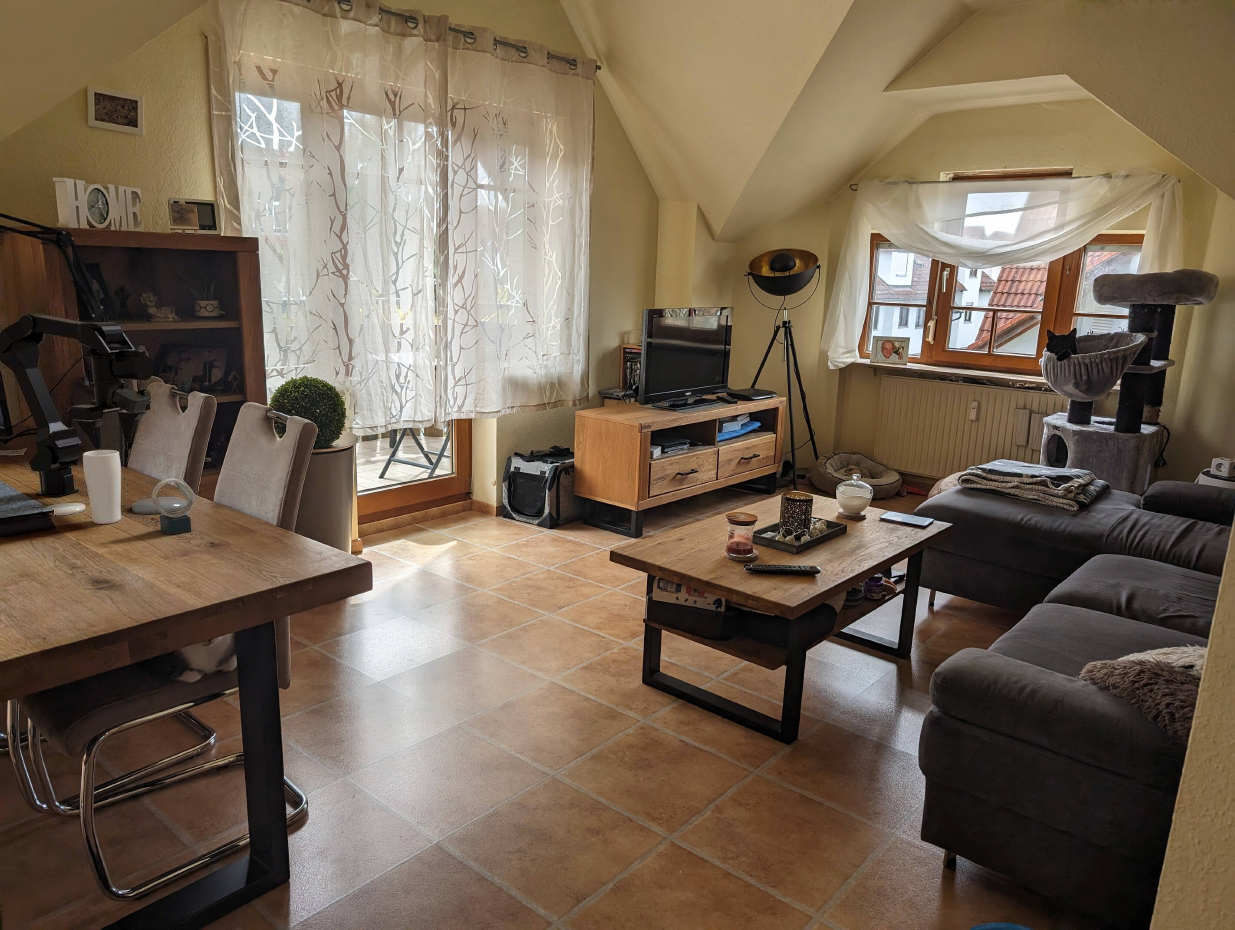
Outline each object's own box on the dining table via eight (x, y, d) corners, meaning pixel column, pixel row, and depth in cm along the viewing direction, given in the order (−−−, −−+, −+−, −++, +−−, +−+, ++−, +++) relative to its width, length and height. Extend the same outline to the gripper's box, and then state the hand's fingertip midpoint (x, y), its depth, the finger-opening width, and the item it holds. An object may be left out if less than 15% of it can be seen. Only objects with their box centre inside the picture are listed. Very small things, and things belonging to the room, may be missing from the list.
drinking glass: (132, 518, 188) (126, 450, 185) (111, 526, 182) (105, 456, 179) (103, 516, 189) (96, 449, 186) (81, 524, 182) (74, 454, 179)
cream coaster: (33, 513, 189) (33, 510, 189) (64, 504, 197) (64, 501, 197) (64, 516, 188) (64, 513, 188) (94, 508, 195) (93, 504, 195)
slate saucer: (120, 511, 193) (120, 506, 193) (156, 500, 204) (156, 495, 203) (162, 515, 191) (162, 510, 191) (197, 504, 201) (197, 499, 201)
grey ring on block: (201, 530, 181) (197, 479, 179) (159, 536, 176) (155, 484, 174) (192, 524, 185) (188, 474, 183) (151, 530, 180) (147, 479, 178)
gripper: (106, 384, 187) (112, 455, 190) (167, 376, 204) (172, 441, 208) (62, 381, 189) (69, 451, 192) (127, 373, 207) (132, 438, 210)
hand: (113, 445), depth 200 cm, fingers open, 9 cm apart
